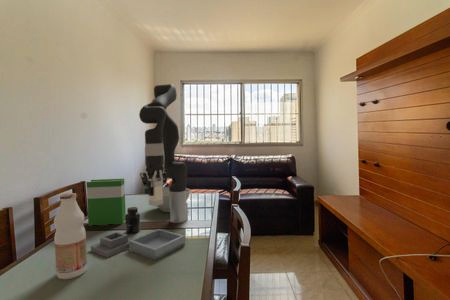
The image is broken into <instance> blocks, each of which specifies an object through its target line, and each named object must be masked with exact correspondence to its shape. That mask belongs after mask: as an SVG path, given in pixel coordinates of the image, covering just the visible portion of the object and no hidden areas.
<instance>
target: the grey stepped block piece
mask: <svg viewBox="0 0 450 300" xmlns="http://www.w3.org/2000/svg"><path fill="white" fill-rule="evenodd" d="M132 239H133V238H130V237H129V234H127V233H122V232H120V231H114V232H111V233H109V234H106V235H103V236H100V237H99V242H98V243H94V244H92V245H90V251H91V252H93V253H96V254H98V255H100V256H103V257H104V258H110V257H112V256H114V255H117V254H119V253H121V252H123V251H126V250H129V241H130V240H132Z"/></svg>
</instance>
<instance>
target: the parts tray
mask: <svg viewBox="0 0 450 300" xmlns="http://www.w3.org/2000/svg"><path fill="white" fill-rule="evenodd" d="M185 236H186V235H183V234H181V233H176V232H171V231H169V230H165V229H162V228H158V229H155V230H152V231H150V232H148V233H145V234H143V235H139V236H138V237H134V238H131V239H132V240H130V241H129V248H128V250H129V251H131V252H133V253H136V254H138V255H141V256H144V257H147V258H149V259H150V260H151V259H152V260H154V261H157V260H159V259H161V258H163V257H164V256H166V255H168V254H170V253H173V252H174V251H176V250H178V249H179V248H181V247H183V246H185V245H186V237H185Z"/></svg>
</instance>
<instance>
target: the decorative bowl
mask: <svg viewBox="0 0 450 300" xmlns="http://www.w3.org/2000/svg"><path fill="white" fill-rule="evenodd" d="M190 195H191V189H190V188H188V187H186V202H187V201H188V199H189V197H190ZM156 208H157V209H160V211H161V212H164V213H165V212H167V213H170V199H169V186H166V187H163V204H161V205H158V206H156Z"/></svg>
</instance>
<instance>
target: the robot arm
mask: <svg viewBox="0 0 450 300" xmlns="http://www.w3.org/2000/svg"><path fill="white" fill-rule="evenodd" d="M153 95H154V98H153V100H151V102H150V103H147V104H145V105H143V106H141V108H140V111H139V114H138V115H139V117H138V118H139V119H140V121H141V122H142V123H143V124H147V125H148V124H150V125H151V124H156V125H155V127H154V128H149V129H146V130H145V131H144V140H145V141H144V145H145V146H144V159H145V160H144V161H145V162H144V163H145V166H146V168H145V171H143V172H140V173H139V176H140V179H141V182H142V185H143V186H144V187H147V194H148V197H149V196H154V187H153V182H154V181H155V180H160V181H163V185H162V188H164V184H165V183H167V182H168V181H167V180H168V178H169V179H175V182H174V183H172V184H170V185H169V186H168V187H169V199H170V212H169V220H170V221H169V222H170V223H173V224H182V223H185V222H187V220H188V219H189V214H188V210H189V208H188V207H189V206H188V202H187V201H186V188H187V185H188V184H187V183H188V167H187V164H186V163H185V162H184V161H176V160H175V152H176V151H175V150H176V148H177V147H178V144H179V140H180V135H179V128H178V125H177V123H176V122H175V120H174V119H173V118H172V117H171V116H170V115H169V113H168V112H167V108H168V107H169V106H170V105H171V104H173V103H174V102H175V101H176V100H177V90H176V86H175V85H174V84H172V83H171V84H170V83H169V84H168V83H165V84H158V85H154V88H153ZM150 182H151V184H150Z"/></svg>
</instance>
